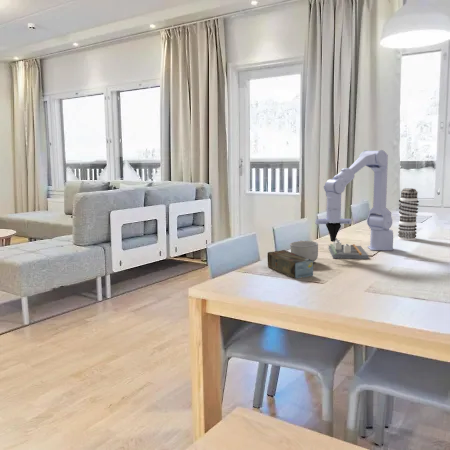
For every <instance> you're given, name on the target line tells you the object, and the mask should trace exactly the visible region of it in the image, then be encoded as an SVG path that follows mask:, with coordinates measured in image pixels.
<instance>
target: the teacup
mask: <svg viewBox="0 0 450 450" xmlns="http://www.w3.org/2000/svg"><path fill="white" fill-rule="evenodd" d="M289 246H290V252H291V253H294V254H297V255H300V256H302V257H305V258H308V259H310V260H313V263H314V262H315V261H317V259H318V258H319V257H318V256H319V242H317V241H314V240H297V241H293V242H291V243H290V244H289Z"/></svg>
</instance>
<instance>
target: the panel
mask: <svg viewBox="0 0 450 450" xmlns="http://www.w3.org/2000/svg"><path fill="white" fill-rule="evenodd" d="M350 246H351V253H344V244H341V250H335V247H333V243H330V245H328V247H327V248H328V250H329V253H330V255H331V257H332V259H341V260H342V259H343V260H345V259H348V260H349V259H350V260H369V254H368V253H367V251H365V249H364V248H363V247H362V246H361V245H356V244H355V243H352V244H350Z"/></svg>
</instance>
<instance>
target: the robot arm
mask: <svg viewBox="0 0 450 450" xmlns="http://www.w3.org/2000/svg"><path fill="white" fill-rule="evenodd" d="M388 161H389V154H387V152H386V151H385V150H384V149H379V150H365V149H364V150H363V151H361V153H359V156H358V158H357V159H356V160H354V162H353V163H352V164H350V166H349V167H344V168H341V169H340V171H339V172H338V173H337V174H335V175H334V176H333V177H332V178H329V179H327V181H325V183H324V186H323V189H324V192H325V197H326V216H325V218H315V220H314V221H315V222H314V223H315V224H316V225H325V226H326V229H327V231H328V233H329V234H328V235H329V238H330V242H332V243H333V242H335V240H336V238H337V235H338V233H339V231H340V229H341V227H342V225H346V224H347V225H352V224H353V223H352V222H353V220H352V218H341V217H342V216H341V215H342V211H341V210H342V193H344V192H345V189H346V187H347V185H348V184H349V183H350V182H352V181H353V180H354V179H355V174H356V173H358V172H360V170H362V169H363V168H364V167H367V168H369V169H371V170H372V171H373V201H372V203H373V204H372V206H373V207H372V208H371V209H370V210H368V216H367V218H366V225H367V226H368V228H369V229H370V241H369V242H370V244H369V245H368V246H367V248H368V249H369V250H370V251H394V232H393V230H392V229H391V228H392V227H393V217H392V212H391V210H389V209H388V208H387V192H388V191H387V188H388V163H389V162H388Z"/></svg>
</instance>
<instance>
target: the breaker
mask: <svg viewBox="0 0 450 450" xmlns="http://www.w3.org/2000/svg"><path fill="white" fill-rule="evenodd" d="M341 245H342V241H335V250H341Z"/></svg>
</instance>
